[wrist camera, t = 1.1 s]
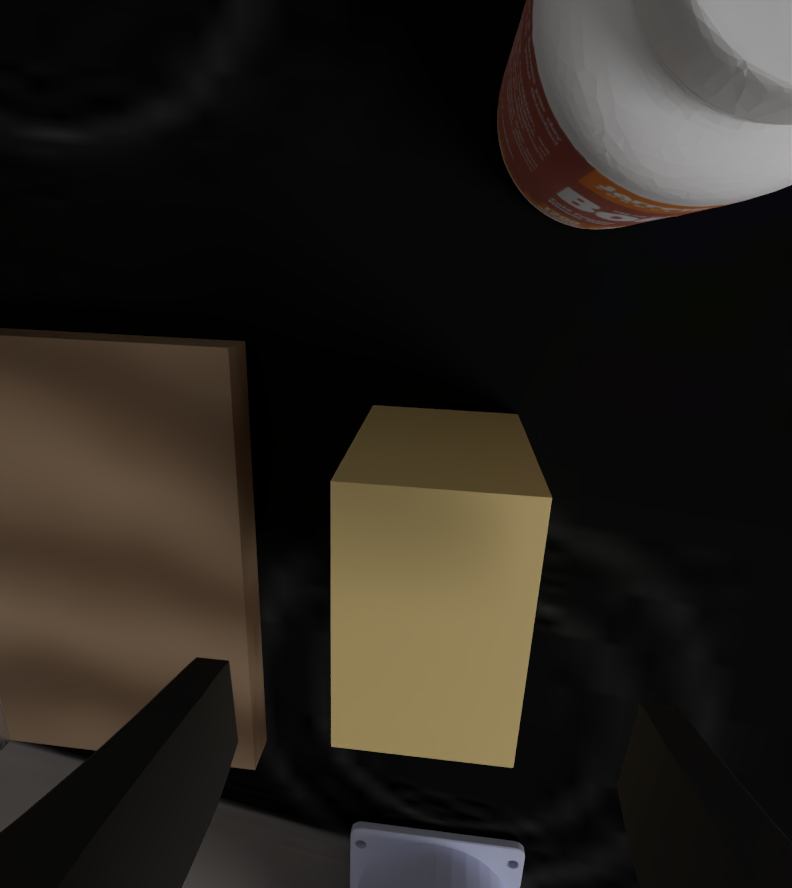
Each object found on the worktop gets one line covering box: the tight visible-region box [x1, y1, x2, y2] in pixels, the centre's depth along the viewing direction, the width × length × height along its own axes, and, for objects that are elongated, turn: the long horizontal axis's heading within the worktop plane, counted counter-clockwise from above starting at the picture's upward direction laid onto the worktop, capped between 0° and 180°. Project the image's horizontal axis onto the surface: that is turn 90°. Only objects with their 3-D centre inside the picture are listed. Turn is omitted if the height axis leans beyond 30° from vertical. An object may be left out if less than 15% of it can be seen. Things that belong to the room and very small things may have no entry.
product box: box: [331, 405, 552, 768], centre depth 17 cm, size 8×5×7 cm, turn 178°
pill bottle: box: [497, 0, 792, 229], centre depth 10 cm, size 6×6×11 cm
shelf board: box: [0, 328, 267, 770], centre depth 21 cm, size 18×12×2 cm, turn 178°
